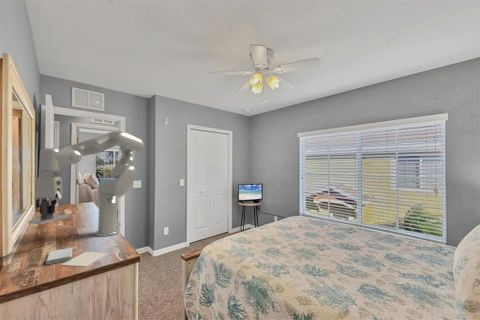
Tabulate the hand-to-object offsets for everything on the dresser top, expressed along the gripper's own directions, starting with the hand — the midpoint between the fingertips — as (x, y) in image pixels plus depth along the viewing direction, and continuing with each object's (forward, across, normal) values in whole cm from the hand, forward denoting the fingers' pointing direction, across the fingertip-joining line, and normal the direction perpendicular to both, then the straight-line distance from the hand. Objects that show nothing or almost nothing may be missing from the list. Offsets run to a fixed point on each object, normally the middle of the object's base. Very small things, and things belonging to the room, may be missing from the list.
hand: (47, 213), depth 102 cm
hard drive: (+18, -14, +6) cm, 23 cm away
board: (+17, -26, +6) cm, 31 cm away
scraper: (+3, -2, 0) cm, 4 cm away
